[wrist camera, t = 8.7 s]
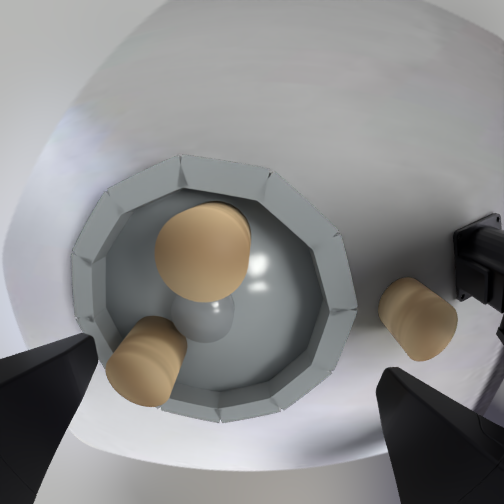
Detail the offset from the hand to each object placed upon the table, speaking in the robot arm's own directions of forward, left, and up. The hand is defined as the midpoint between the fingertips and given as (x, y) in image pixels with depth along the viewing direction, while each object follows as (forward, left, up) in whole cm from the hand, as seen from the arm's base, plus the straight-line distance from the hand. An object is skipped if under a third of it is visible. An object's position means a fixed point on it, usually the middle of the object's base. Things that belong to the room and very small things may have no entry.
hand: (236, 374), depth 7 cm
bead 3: (-10, +7, -12) cm, 17 cm away
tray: (+4, +2, -12) cm, 12 cm away
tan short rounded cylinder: (+8, +4, -11) cm, 14 cm away
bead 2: (+1, -2, -11) cm, 11 cm away
